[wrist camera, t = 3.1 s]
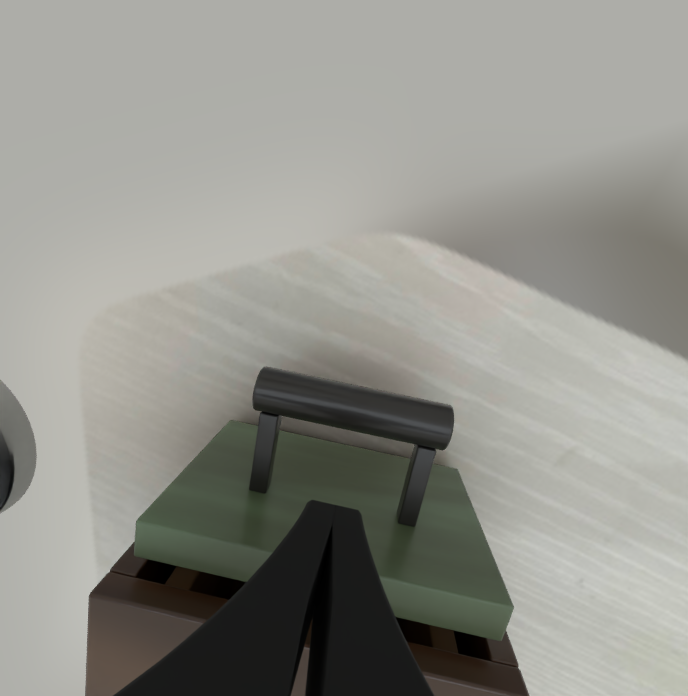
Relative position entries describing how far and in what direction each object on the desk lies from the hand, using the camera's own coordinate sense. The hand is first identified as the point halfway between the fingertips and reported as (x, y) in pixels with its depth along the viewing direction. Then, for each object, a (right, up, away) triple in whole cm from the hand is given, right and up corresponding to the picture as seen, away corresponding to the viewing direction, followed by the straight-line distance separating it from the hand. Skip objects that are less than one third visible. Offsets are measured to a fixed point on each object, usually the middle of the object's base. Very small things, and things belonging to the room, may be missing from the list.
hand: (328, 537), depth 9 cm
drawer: (0, -3, +8) cm, 8 cm away
